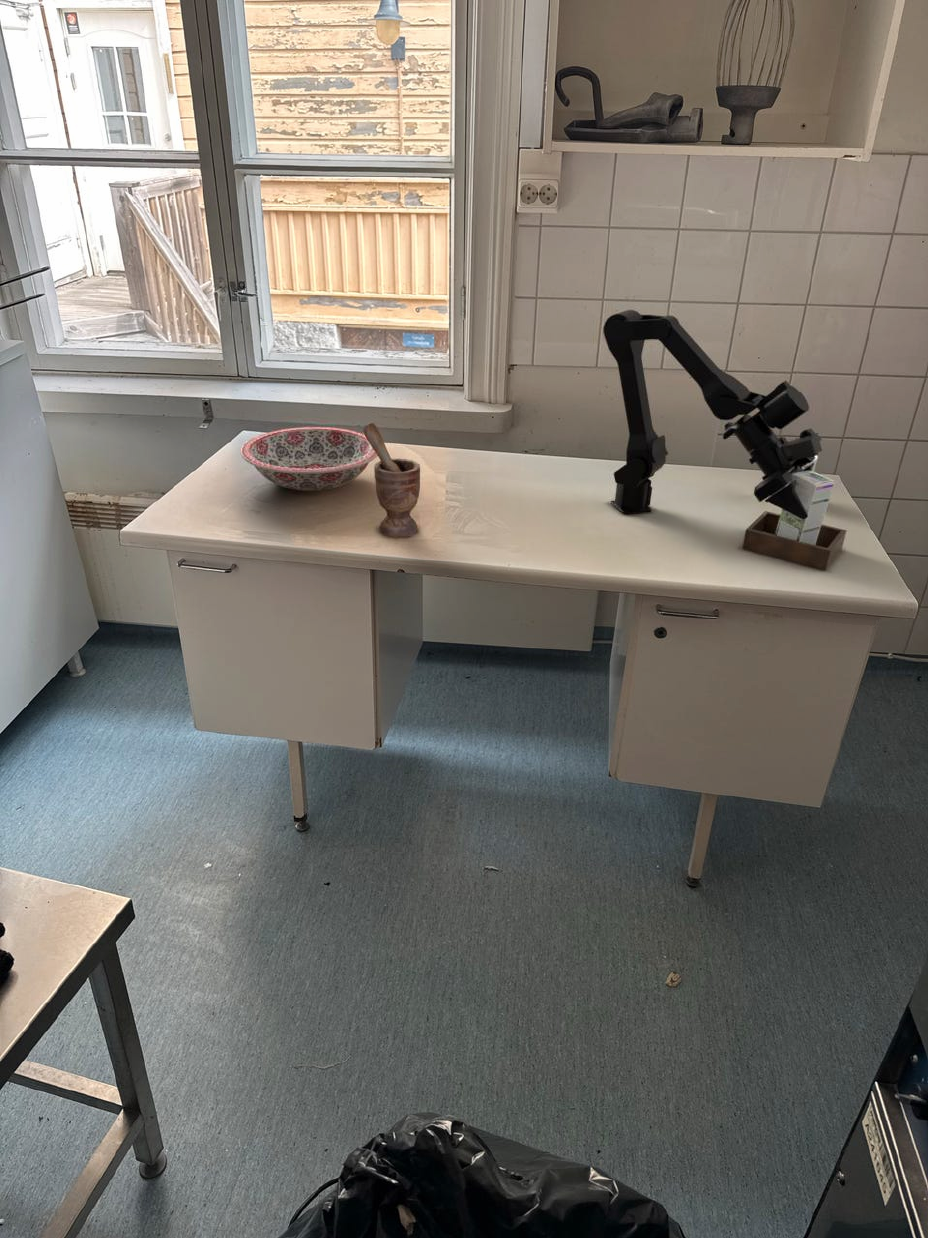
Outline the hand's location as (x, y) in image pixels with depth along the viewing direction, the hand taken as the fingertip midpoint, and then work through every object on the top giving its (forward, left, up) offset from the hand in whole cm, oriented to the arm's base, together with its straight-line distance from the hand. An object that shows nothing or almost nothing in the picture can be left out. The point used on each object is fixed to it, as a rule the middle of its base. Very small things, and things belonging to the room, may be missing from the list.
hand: (812, 511), depth 167 cm
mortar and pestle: (-73, +30, -8) cm, 79 cm away
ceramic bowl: (-83, +58, -8) cm, 101 cm away
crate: (-1, +2, -8) cm, 9 cm away
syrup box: (-1, +2, -8) cm, 8 cm away
